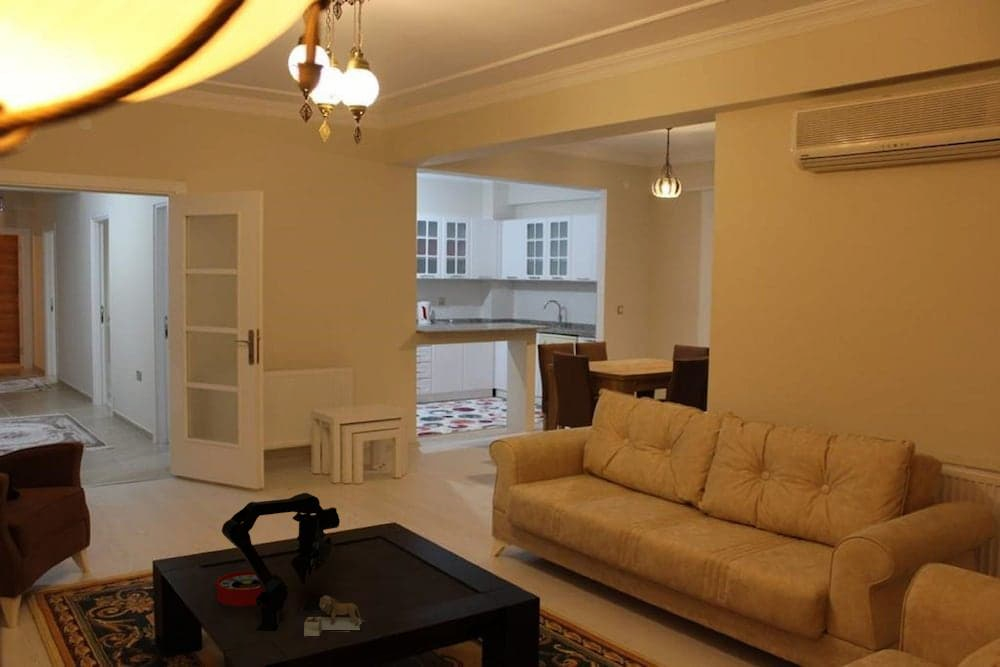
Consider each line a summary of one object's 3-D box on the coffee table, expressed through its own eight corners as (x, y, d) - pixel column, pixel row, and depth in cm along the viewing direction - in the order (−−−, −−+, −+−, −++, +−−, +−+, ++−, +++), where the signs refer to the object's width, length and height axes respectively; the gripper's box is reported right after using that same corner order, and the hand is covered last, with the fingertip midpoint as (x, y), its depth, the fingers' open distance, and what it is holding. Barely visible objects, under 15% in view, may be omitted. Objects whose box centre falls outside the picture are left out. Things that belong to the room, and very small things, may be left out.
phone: (326, 594, 304) (324, 610, 289) (326, 597, 304) (324, 613, 289) (303, 594, 303) (300, 610, 288) (303, 598, 303) (300, 614, 288)
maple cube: (307, 630, 274) (307, 616, 274) (321, 631, 274) (321, 616, 274) (304, 636, 269) (304, 621, 269) (318, 637, 269) (318, 622, 269)
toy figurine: (307, 558, 350) (294, 573, 325) (309, 511, 351) (296, 522, 326) (330, 558, 350) (319, 573, 325) (332, 512, 351) (321, 523, 326)
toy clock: (249, 594, 289) (204, 583, 297) (249, 611, 289) (204, 600, 297) (288, 576, 307) (244, 567, 315) (288, 592, 307) (244, 583, 316)
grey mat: (318, 618, 284) (318, 616, 284) (366, 619, 284) (366, 618, 284) (311, 630, 274) (311, 628, 274) (361, 631, 274) (361, 630, 274)
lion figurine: (317, 626, 276) (318, 598, 276) (320, 619, 281) (320, 592, 281) (364, 626, 277) (364, 599, 276) (365, 620, 282) (366, 593, 282)
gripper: (326, 541, 273) (325, 589, 274) (337, 525, 292) (336, 570, 293) (291, 540, 273) (290, 588, 274) (304, 524, 292) (303, 569, 293)
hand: (306, 579), depth 283 cm, fingers open, 9 cm apart
